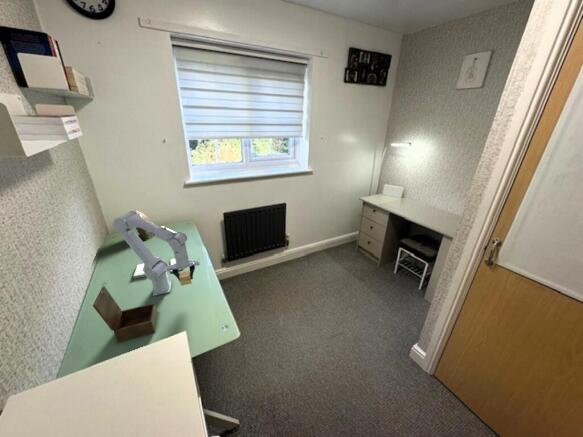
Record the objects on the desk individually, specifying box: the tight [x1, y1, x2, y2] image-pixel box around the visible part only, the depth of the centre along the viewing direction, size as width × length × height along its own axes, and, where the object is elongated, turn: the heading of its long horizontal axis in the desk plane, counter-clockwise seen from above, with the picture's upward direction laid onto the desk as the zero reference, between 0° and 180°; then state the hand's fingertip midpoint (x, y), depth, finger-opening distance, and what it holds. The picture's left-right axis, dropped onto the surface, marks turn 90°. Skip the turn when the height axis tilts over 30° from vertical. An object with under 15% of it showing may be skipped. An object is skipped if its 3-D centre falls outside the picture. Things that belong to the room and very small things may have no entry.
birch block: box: [179, 269, 193, 286], centre depth 119 cm, size 5×5×5 cm
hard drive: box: [132, 262, 146, 279], centre depth 139 cm, size 2×8×12 cm
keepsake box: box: [113, 302, 159, 343], centre depth 102 cm, size 13×11×6 cm
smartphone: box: [169, 257, 183, 273], centre depth 146 cm, size 7×1×15 cm
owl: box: [134, 209, 155, 241], centre depth 175 cm, size 13×13×20 cm
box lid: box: [92, 285, 122, 332], centre depth 95 cm, size 14×11×1 cm
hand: (186, 279), depth 120 cm, fingers closed on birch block, 5 cm apart
